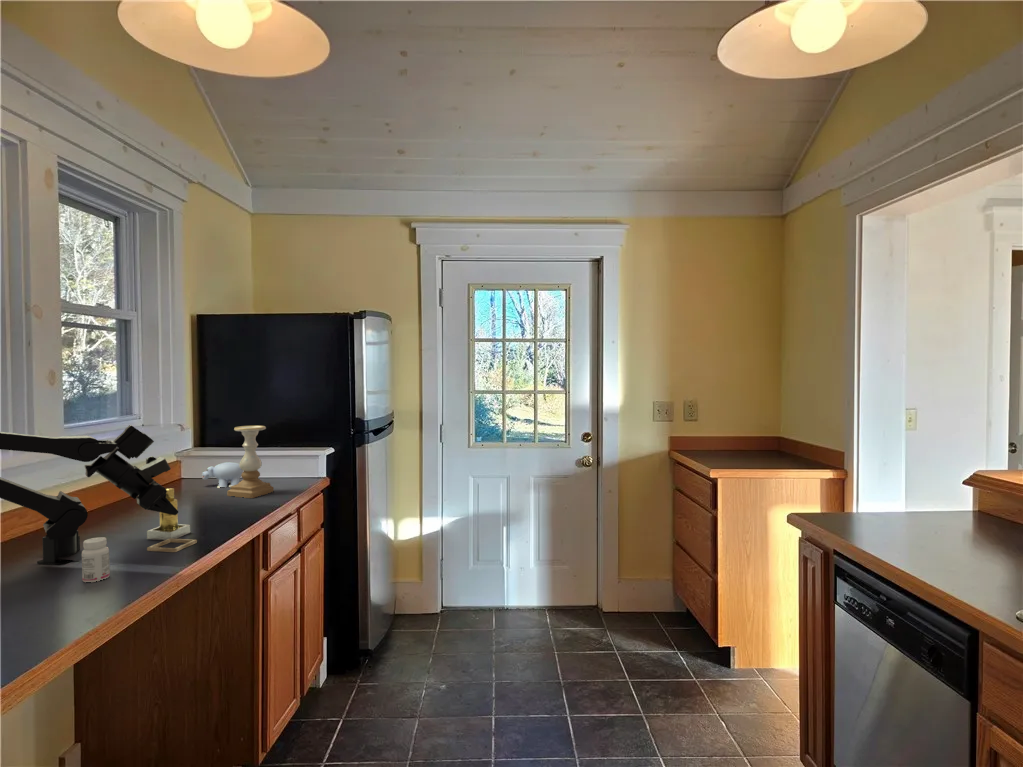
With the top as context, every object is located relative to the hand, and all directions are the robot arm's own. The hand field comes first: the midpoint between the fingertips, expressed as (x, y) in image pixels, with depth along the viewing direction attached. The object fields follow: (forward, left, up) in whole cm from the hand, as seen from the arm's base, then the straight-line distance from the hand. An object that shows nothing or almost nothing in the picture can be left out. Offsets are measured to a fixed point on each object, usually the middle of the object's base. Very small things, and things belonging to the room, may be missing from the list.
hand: (173, 510), depth 149 cm
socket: (-1, +1, -8) cm, 8 cm away
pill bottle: (-27, -3, -8) cm, 28 cm away
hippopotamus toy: (+66, +32, -8) cm, 73 cm away
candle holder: (+53, +13, -8) cm, 55 cm away
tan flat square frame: (-9, -7, -8) cm, 14 cm away
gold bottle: (-1, +1, -6) cm, 7 cm away
